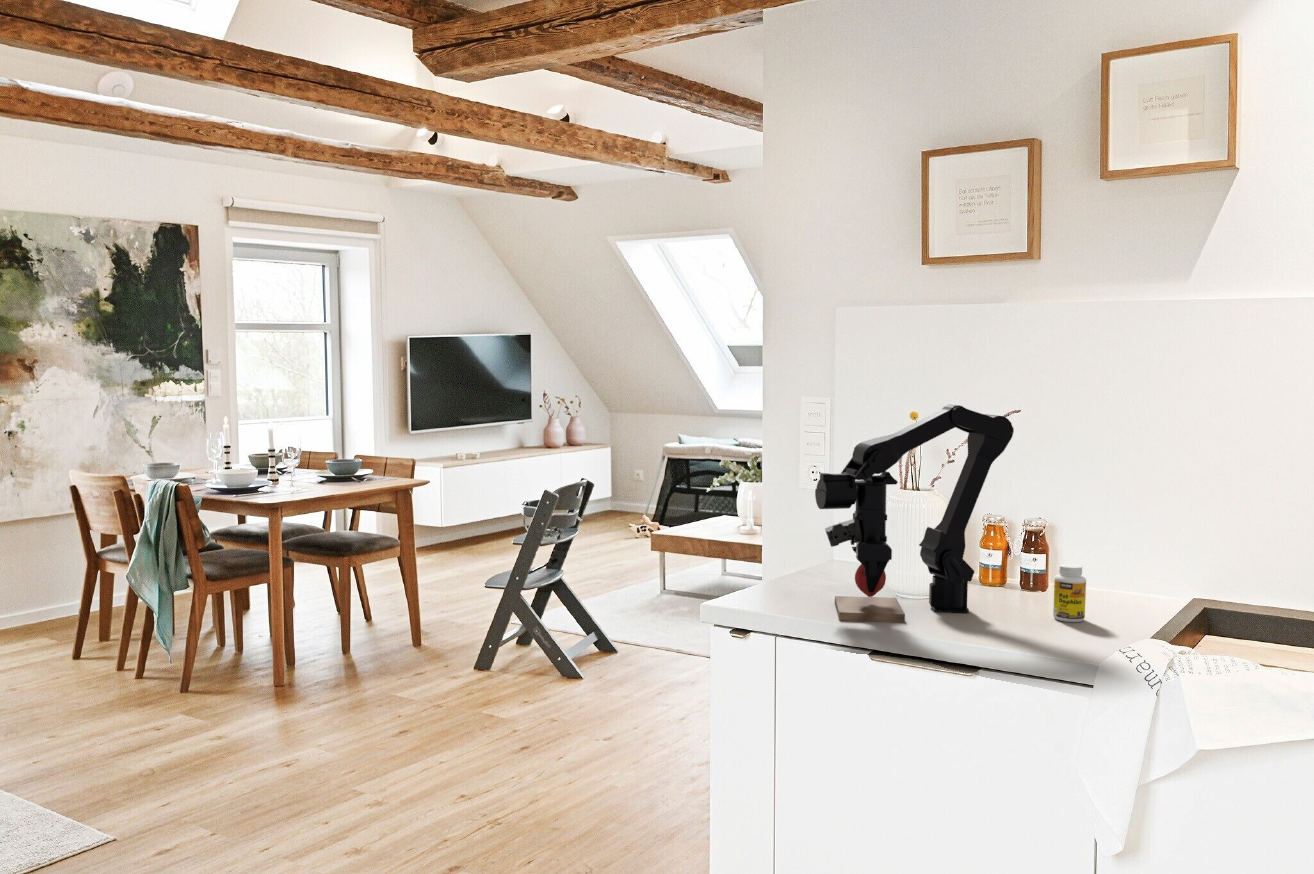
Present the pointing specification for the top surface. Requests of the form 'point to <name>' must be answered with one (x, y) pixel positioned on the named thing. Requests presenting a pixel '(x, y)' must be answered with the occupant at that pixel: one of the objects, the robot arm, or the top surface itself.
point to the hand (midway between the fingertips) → (869, 588)
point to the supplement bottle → (1069, 594)
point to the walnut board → (869, 609)
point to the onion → (862, 584)
